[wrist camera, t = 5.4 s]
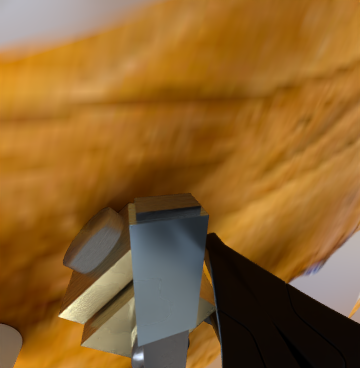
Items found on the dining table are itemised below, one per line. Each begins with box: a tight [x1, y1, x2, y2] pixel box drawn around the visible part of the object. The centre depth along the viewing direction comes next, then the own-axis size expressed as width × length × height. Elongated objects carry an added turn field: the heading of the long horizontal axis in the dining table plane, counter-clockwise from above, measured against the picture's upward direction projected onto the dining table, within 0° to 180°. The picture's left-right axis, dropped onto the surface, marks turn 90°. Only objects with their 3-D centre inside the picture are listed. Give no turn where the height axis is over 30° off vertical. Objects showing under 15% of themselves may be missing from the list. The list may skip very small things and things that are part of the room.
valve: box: [58, 202, 216, 358], centre depth 13 cm, size 12×6×6 cm, turn 40°
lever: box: [128, 193, 209, 368], centre depth 8 cm, size 3×11×2 cm, turn 178°
